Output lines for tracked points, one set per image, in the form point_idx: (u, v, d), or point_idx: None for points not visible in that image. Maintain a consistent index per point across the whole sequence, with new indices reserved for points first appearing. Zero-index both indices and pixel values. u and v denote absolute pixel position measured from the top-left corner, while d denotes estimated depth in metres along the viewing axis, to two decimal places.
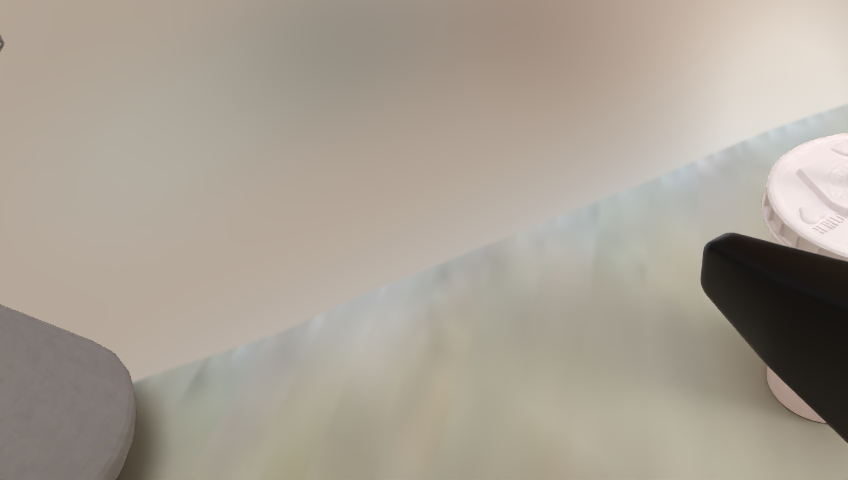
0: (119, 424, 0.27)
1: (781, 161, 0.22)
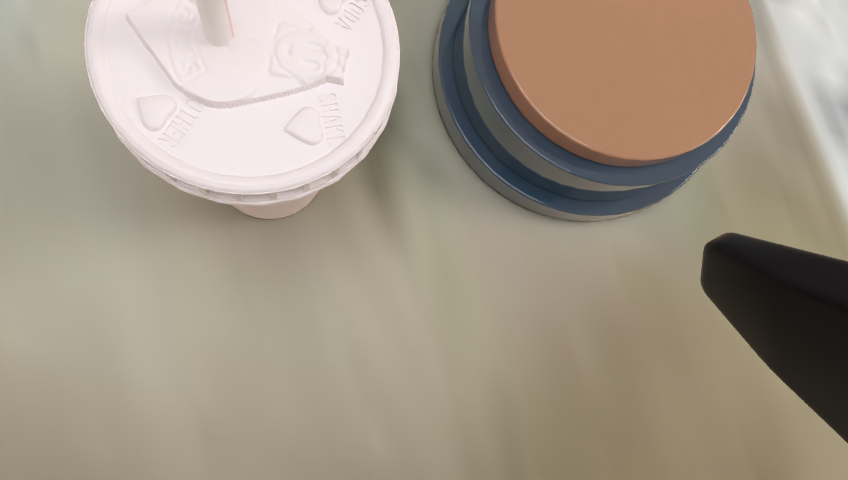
0: None
1: None
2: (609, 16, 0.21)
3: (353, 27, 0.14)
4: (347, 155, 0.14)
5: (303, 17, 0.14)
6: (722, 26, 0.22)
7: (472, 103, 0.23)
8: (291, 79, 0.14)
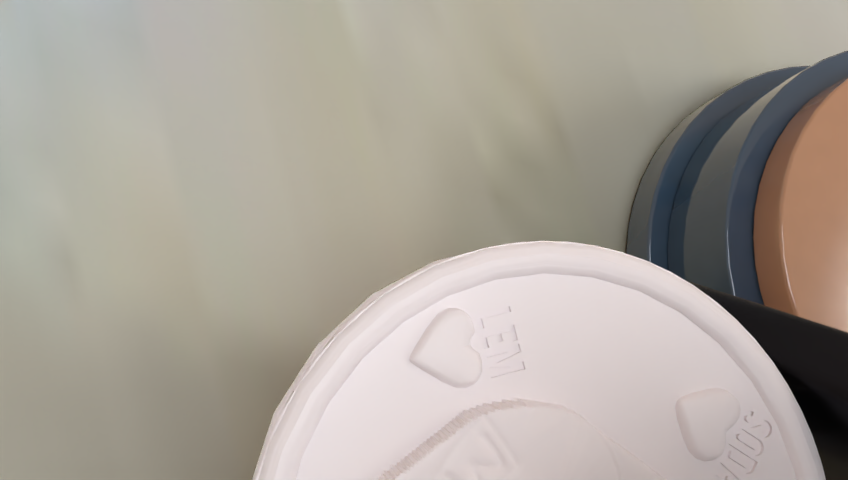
0: None
1: (275, 468, 0.07)
2: None
3: None
4: None
5: (663, 478, 0.07)
6: None
7: None
8: None
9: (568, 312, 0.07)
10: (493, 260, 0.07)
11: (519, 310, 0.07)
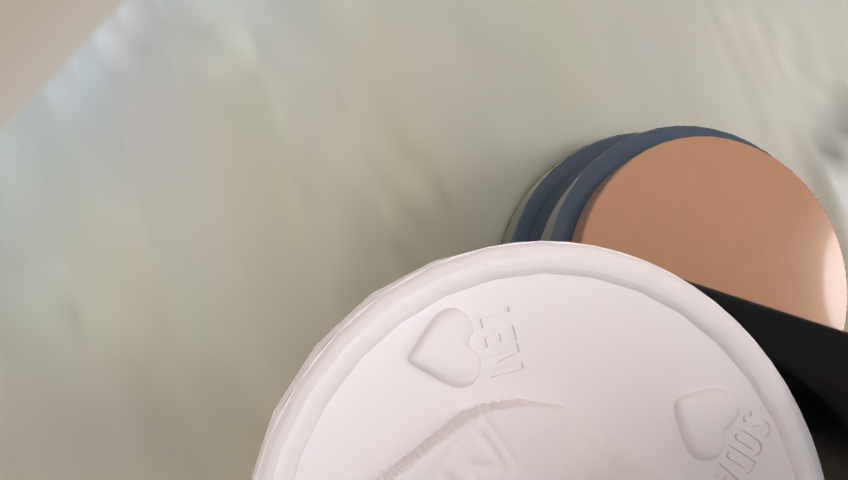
0: None
1: (273, 468, 0.07)
2: (696, 274, 0.20)
3: (745, 479, 0.07)
4: None
5: (661, 478, 0.07)
6: (812, 269, 0.21)
7: None
8: None
9: (567, 312, 0.07)
10: (492, 260, 0.07)
11: (518, 309, 0.07)
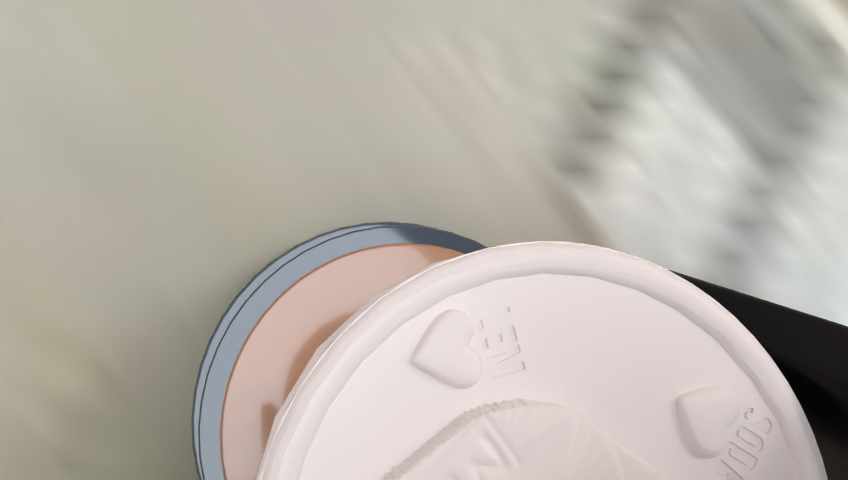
0: None
1: (278, 471, 0.07)
2: None
3: (748, 476, 0.07)
4: None
5: (664, 476, 0.07)
6: None
7: None
8: None
9: (567, 312, 0.07)
10: (492, 261, 0.07)
11: (519, 309, 0.07)
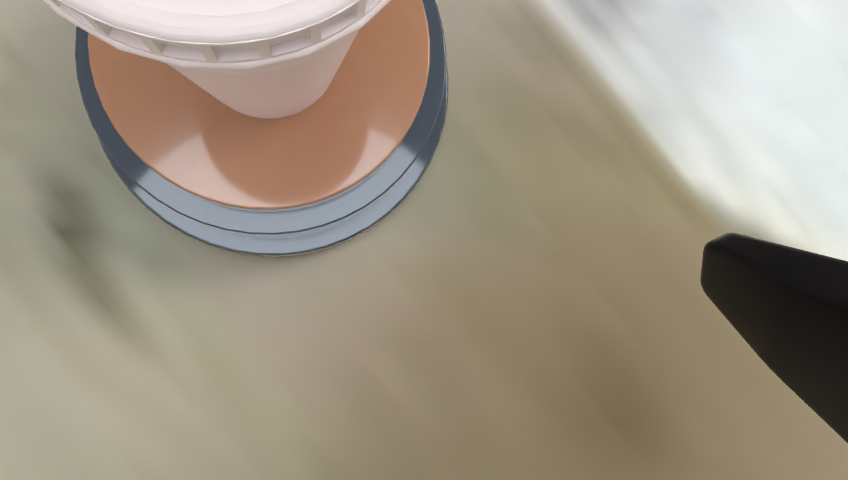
0: None
1: None
2: None
3: None
4: None
5: None
6: None
7: None
8: None
9: None
10: None
11: None
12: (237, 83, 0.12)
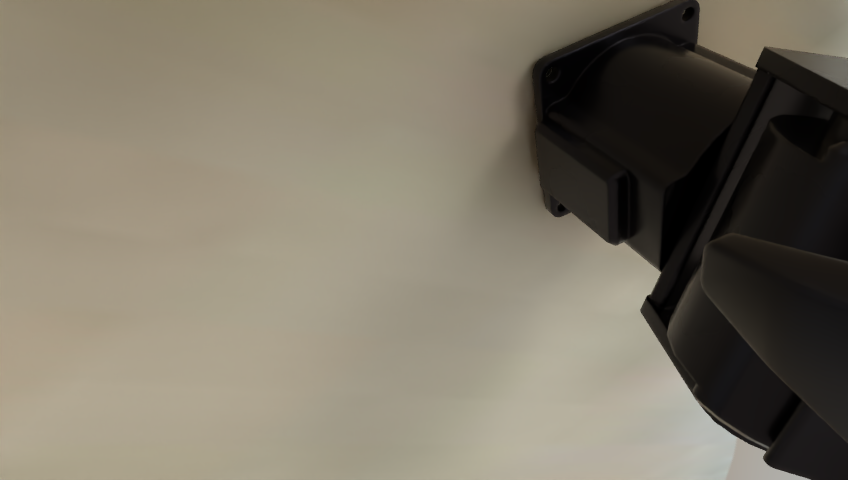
0: None
1: None
2: None
3: None
4: None
5: None
6: None
7: None
8: None
9: None
10: None
11: None
12: None
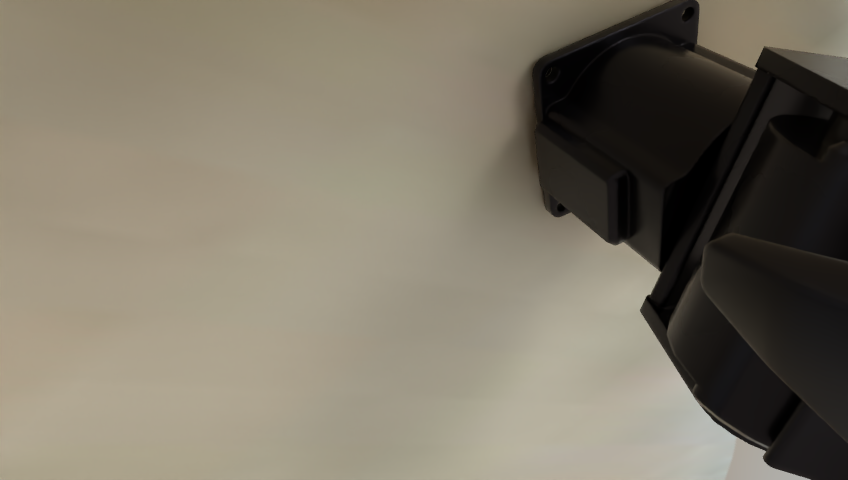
0: None
1: None
2: None
3: None
4: None
5: None
6: None
7: None
8: None
9: None
10: None
11: None
12: None
